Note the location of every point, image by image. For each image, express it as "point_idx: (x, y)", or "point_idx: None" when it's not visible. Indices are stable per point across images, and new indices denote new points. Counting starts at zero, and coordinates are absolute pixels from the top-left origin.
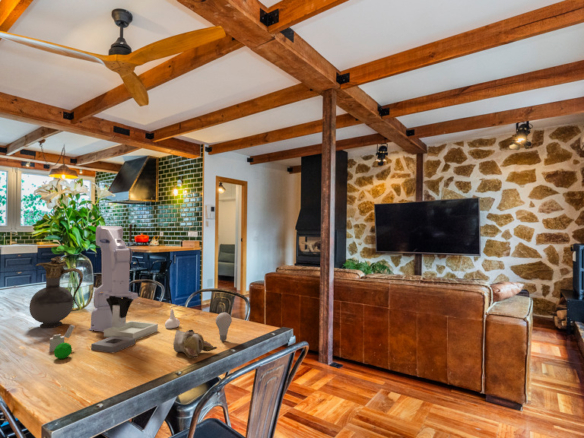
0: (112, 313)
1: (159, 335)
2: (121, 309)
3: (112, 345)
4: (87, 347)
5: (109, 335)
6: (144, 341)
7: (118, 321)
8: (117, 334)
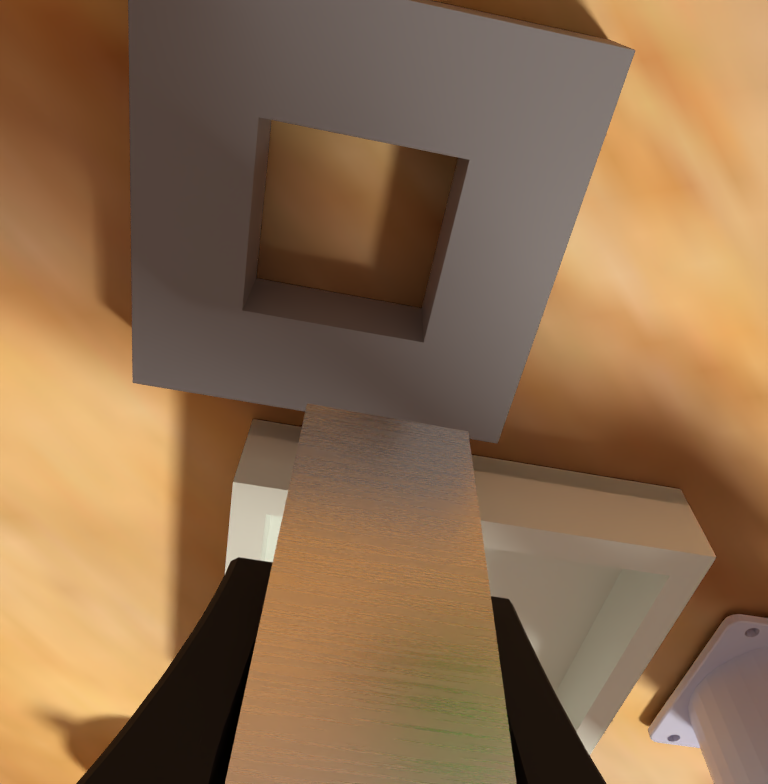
0: (515, 658)
1: (113, 602)
2: (160, 740)
3: (220, 26)
4: (714, 126)
5: (607, 497)
6: (119, 436)
7: (308, 483)
8: (489, 495)
